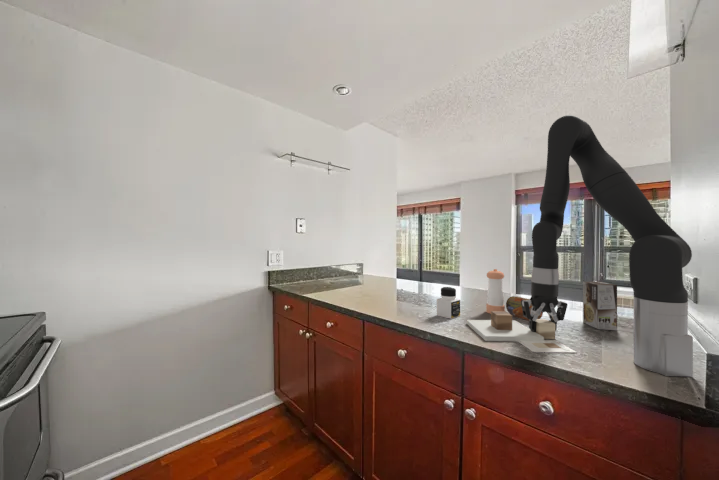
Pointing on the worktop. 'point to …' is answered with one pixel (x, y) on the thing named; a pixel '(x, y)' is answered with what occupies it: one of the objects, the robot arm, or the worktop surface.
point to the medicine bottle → (448, 303)
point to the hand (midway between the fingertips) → (542, 331)
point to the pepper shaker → (495, 292)
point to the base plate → (503, 332)
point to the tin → (518, 307)
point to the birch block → (545, 328)
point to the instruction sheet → (546, 346)
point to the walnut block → (501, 320)
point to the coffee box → (600, 305)
